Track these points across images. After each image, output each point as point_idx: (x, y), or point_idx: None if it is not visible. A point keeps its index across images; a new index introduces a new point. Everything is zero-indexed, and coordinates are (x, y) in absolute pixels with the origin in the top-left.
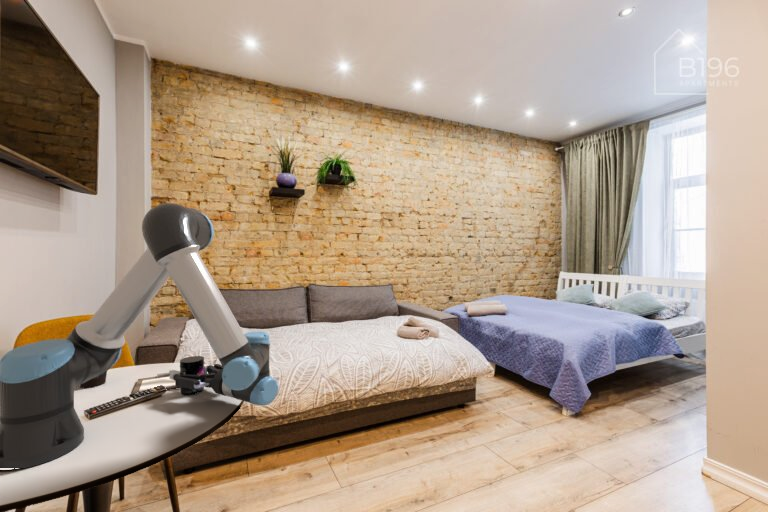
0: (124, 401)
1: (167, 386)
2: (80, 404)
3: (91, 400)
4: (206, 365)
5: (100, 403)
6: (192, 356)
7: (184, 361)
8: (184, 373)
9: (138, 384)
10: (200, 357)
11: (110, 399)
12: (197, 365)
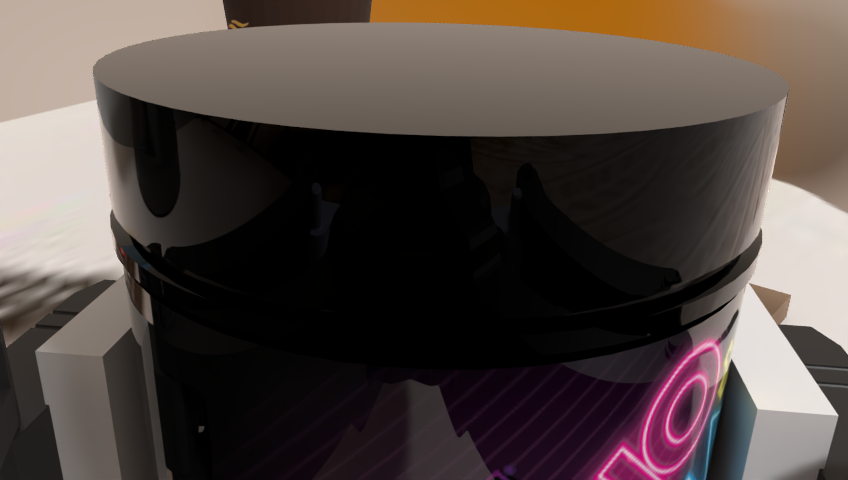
0: (28, 329)
1: None
2: (3, 216)
3: (70, 217)
4: (827, 401)
5: (4, 261)
6: (595, 34)
7: (204, 48)
8: (89, 371)
9: None
10: (685, 79)
11: (83, 260)
12: (326, 314)
